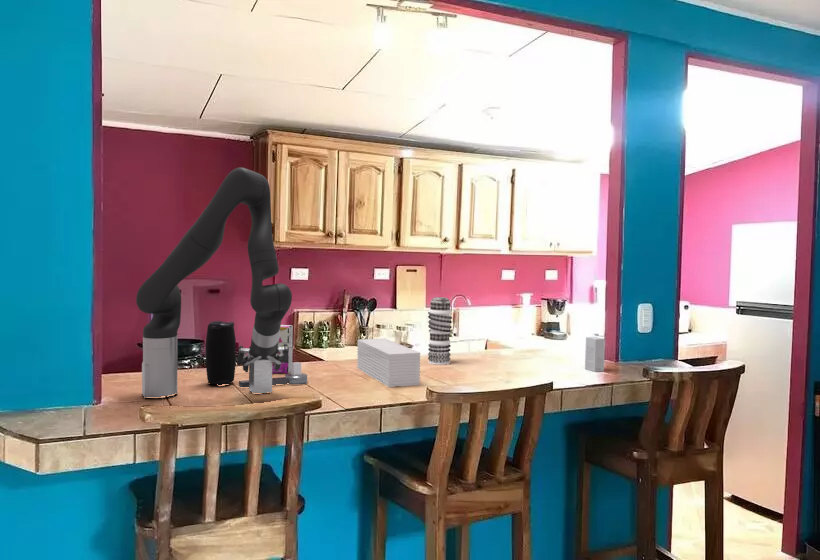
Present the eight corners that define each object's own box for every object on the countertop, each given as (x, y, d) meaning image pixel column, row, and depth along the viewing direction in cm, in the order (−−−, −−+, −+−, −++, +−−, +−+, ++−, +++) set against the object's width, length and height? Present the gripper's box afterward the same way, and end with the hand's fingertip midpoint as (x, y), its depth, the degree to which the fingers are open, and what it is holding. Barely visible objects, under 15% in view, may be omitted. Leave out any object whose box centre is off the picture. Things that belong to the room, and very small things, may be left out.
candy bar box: (256, 373, 218) (257, 325, 217) (261, 370, 223) (262, 323, 222) (288, 374, 217) (289, 326, 216) (292, 371, 222) (293, 324, 221)
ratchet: (243, 390, 192) (243, 369, 192) (237, 386, 198) (237, 365, 198) (310, 384, 203) (310, 363, 202) (302, 379, 209) (303, 360, 208)
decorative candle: (423, 361, 246) (425, 296, 245) (446, 360, 249) (447, 296, 248) (431, 365, 238) (432, 298, 236) (454, 364, 240) (456, 298, 239)
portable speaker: (240, 382, 203) (241, 321, 202) (223, 388, 194) (223, 324, 193) (217, 379, 206) (218, 319, 205) (199, 385, 197) (200, 323, 196)
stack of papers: (357, 369, 229) (357, 339, 229) (384, 367, 233) (385, 338, 233) (388, 388, 200) (389, 354, 199) (419, 385, 204) (420, 352, 203)
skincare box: (604, 371, 232) (605, 338, 232) (594, 372, 231) (595, 339, 230) (593, 368, 238) (594, 336, 237) (584, 368, 236) (585, 336, 236)
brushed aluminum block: (254, 395, 186) (254, 357, 186) (249, 391, 191) (249, 355, 190) (272, 393, 189) (272, 356, 188) (266, 389, 194) (266, 353, 193)
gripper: (290, 324, 182) (284, 357, 193) (238, 326, 177) (235, 359, 188) (292, 346, 177) (286, 378, 188) (240, 348, 172) (236, 381, 184)
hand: (261, 369), depth 188 cm, fingers open, 8 cm apart
